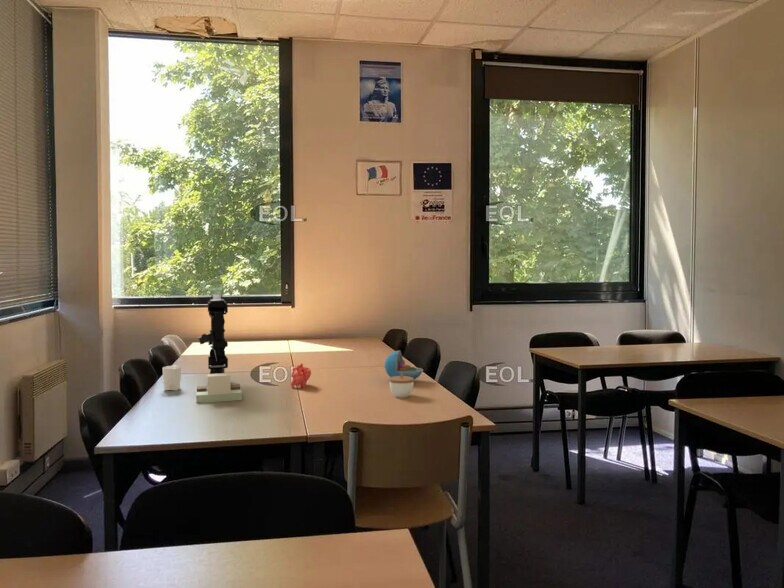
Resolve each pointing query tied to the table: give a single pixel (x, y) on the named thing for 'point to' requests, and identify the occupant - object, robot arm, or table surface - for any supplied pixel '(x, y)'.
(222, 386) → the cream block
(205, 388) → the strip
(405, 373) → the educational model
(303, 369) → the anatomical heart
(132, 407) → the table surface
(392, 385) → the lidded jar
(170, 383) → the white cup
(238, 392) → the pad
